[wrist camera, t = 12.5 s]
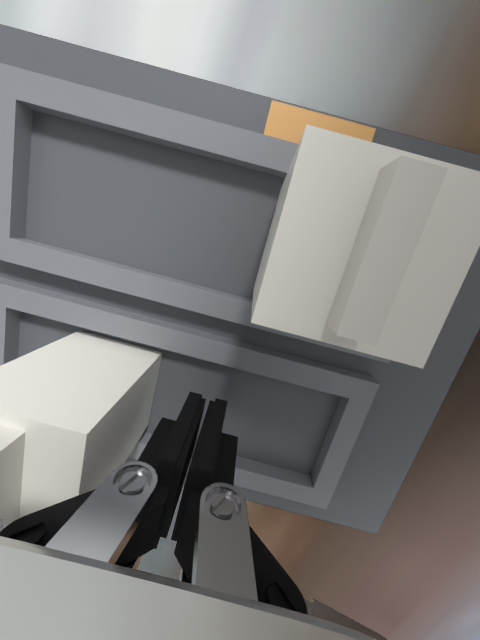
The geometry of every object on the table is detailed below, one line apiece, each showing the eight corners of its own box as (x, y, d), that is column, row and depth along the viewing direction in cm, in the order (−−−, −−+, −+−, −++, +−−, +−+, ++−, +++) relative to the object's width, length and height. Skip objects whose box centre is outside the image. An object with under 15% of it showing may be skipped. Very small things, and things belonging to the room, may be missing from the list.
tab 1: (79, 330, 13) (-103, 411, 6) (162, 352, 13) (66, 456, 6) (70, 404, 14) (-96, 541, 7) (148, 424, 14) (51, 578, 7)
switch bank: (-28, 36, 12) (-95, -15, 9) (519, 185, 12) (579, 169, 10) (-33, 404, 16) (-79, 428, 14) (366, 508, 16) (383, 549, 14)
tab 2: (280, 191, 11) (315, 102, 4) (376, 217, 11) (554, 167, 4) (253, 288, 12) (250, 332, 5) (342, 312, 12) (446, 385, 5)
